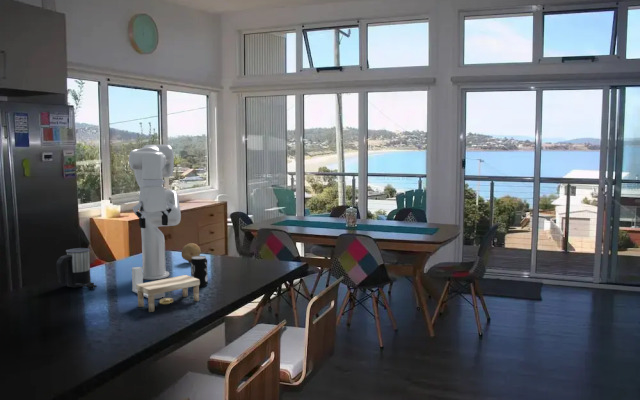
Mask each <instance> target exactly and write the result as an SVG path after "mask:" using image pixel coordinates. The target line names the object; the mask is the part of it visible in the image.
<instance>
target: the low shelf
mask: <svg viewBox="0 0 640 400" xmlns="http://www.w3.org/2000/svg"><path fill="white" fill-rule="evenodd" d="M199 285H200V280H199V279H196V278H194V277H191V275H187V274H183V275H177V276H173V277H166V278H162V279H156V280H151V281H148V282H143V283H141V284H136V290H137V291H138V293H137V307H138V308H142V307H145V302H144V301H145V300H144V297H145V296H144V294H143V293H145V294H147V295H148V298H147V300H148V301H147V303H148V308H147V309H148V313H154V312H156V311H155V299H154V295H155V294H160V293H164V292H165V293H168V292H172V291H177V290H182V297H183V298H185V297H186V298H187V297H188V295H189V288H192V287H193V288H192V289H193V290H192V291H193V301H194V302H199V301H200V288H199Z"/></svg>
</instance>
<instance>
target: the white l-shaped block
mask: <svg viewBox="0 0 640 400" xmlns="http://www.w3.org/2000/svg"><path fill="white" fill-rule="evenodd" d="M131 280H132V282H131V283H132V289H131V291H132V292H133V293H136V294H138V291H137V290H136V284H141V283H144V279H143V269H142V266H134V267H131ZM143 294H144V297H145V298H147V299H148V295H147V294H145V293H143ZM162 297H163V298H166V292H164V293H160V294H155V295H154V300H157V299H163V298H162Z"/></svg>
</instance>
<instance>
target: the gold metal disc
mask: <svg viewBox="0 0 640 400" xmlns="http://www.w3.org/2000/svg"><path fill="white" fill-rule="evenodd" d="M170 303H171V304H173V303H174V298H172V297H163V298H159V303H158V304H160V305H170Z"/></svg>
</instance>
